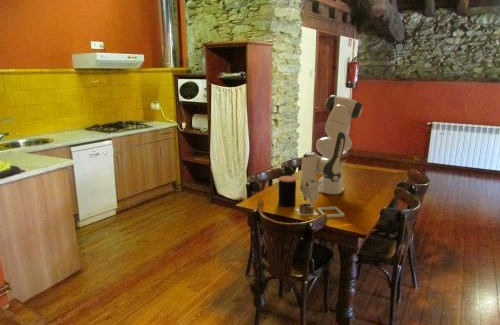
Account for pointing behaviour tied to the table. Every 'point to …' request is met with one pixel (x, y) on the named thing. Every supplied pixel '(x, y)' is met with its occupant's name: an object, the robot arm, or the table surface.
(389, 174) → the table surface
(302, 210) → the brown square block
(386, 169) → the table surface
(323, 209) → the grey square frame
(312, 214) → the stake
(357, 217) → the table surface
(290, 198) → the coffee jar
